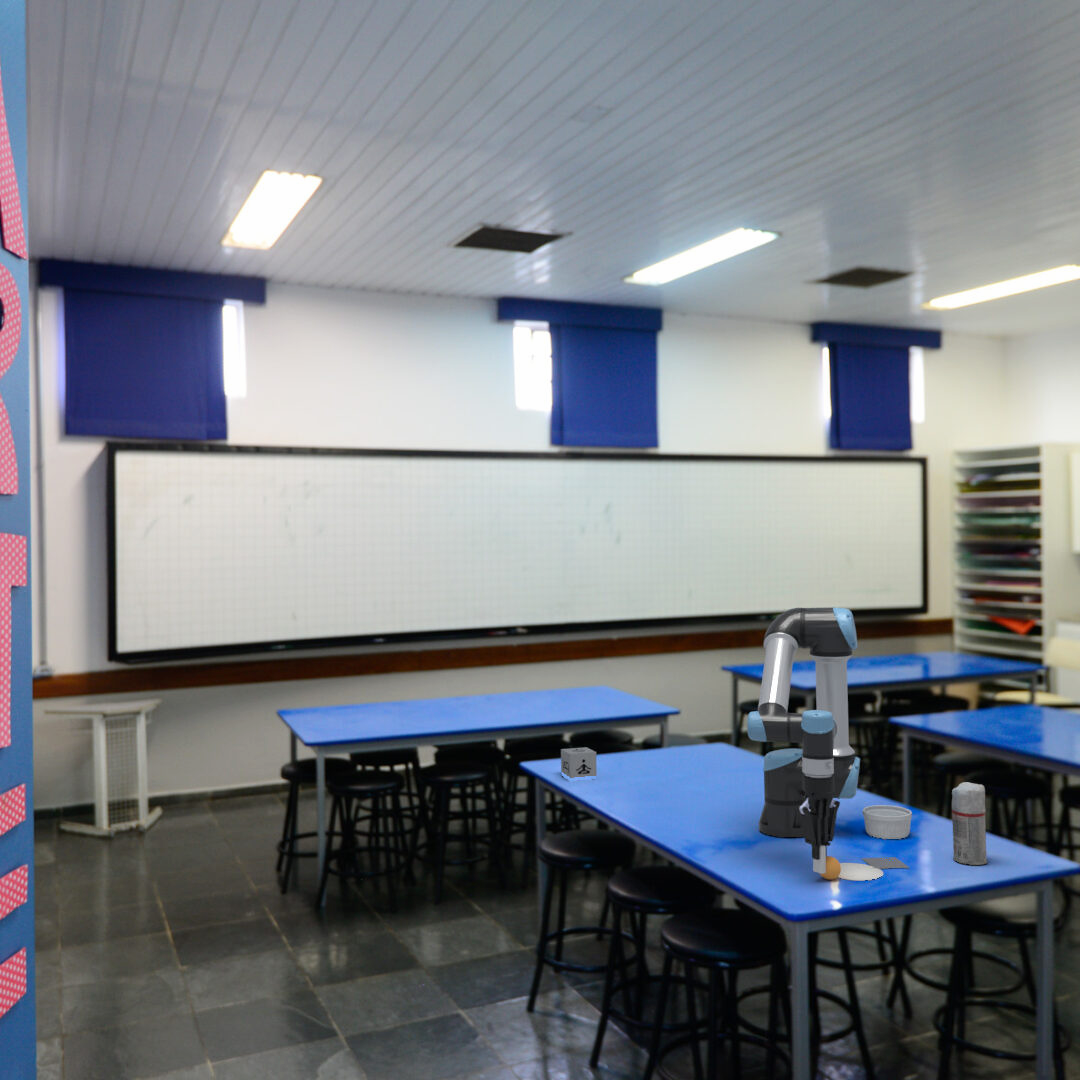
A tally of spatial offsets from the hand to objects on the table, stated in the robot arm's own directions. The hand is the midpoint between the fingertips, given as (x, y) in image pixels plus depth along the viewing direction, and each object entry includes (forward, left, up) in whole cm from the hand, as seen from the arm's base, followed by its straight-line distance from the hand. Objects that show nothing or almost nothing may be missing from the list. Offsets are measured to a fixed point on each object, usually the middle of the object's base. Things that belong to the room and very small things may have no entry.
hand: (819, 871), depth 247 cm
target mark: (-11, +6, -2) cm, 13 cm away
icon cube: (-84, -103, -3) cm, 133 cm away
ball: (-3, +2, 0) cm, 3 cm away
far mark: (-21, +12, -2) cm, 25 cm away
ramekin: (-50, +9, -3) cm, 51 cm away
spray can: (-32, +32, -3) cm, 45 cm away
